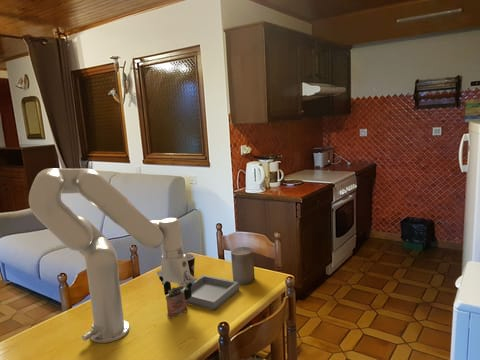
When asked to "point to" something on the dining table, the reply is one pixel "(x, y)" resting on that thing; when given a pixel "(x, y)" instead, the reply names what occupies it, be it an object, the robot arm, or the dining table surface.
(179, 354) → the dining table surface
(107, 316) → the robot arm
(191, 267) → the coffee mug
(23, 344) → the dining table surface
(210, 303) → the tray
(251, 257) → the pillar candle
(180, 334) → the dining table surface
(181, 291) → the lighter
